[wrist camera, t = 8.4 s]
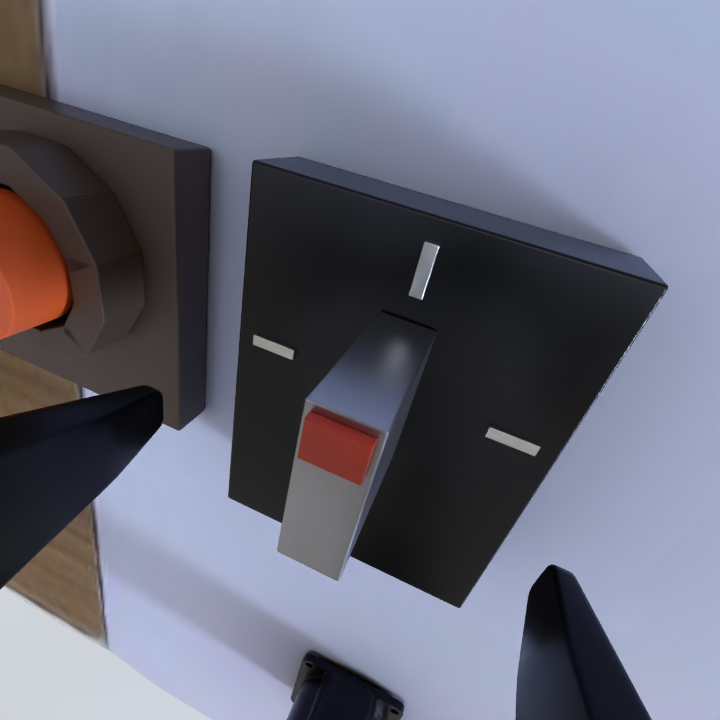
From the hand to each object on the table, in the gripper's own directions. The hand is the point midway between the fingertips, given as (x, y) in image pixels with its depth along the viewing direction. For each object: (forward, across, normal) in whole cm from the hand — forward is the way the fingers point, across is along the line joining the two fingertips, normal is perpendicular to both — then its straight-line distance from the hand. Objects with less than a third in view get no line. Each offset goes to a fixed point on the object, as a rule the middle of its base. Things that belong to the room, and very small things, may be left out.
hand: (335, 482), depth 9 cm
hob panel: (+6, 0, +1) cm, 7 cm away
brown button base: (+6, +13, +1) cm, 15 cm away
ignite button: (+3, +13, 0) cm, 13 cm away
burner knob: (+4, 0, 0) cm, 4 cm away
